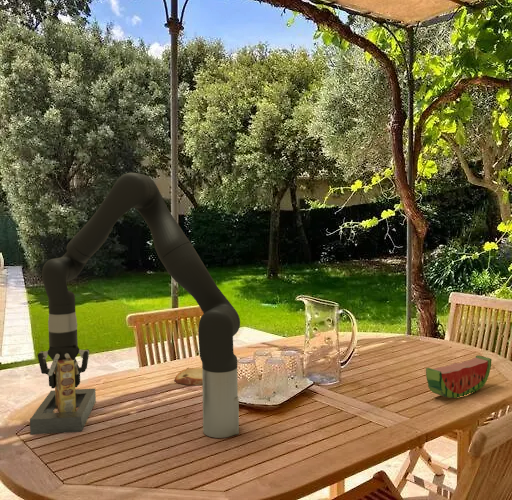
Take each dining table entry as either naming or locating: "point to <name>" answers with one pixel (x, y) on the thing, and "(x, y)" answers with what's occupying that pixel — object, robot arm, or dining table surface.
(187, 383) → the bread slice
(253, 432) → the dining table surface
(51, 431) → the rectangular frame
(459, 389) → the fruit slice
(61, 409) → the candy box
